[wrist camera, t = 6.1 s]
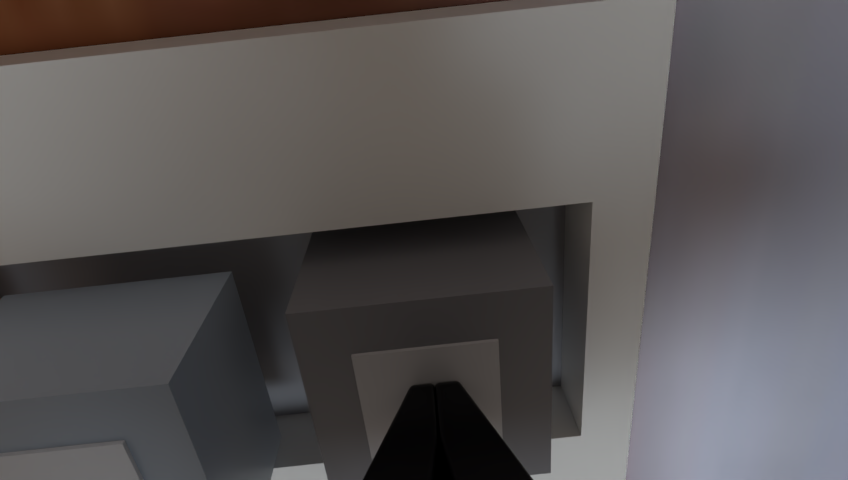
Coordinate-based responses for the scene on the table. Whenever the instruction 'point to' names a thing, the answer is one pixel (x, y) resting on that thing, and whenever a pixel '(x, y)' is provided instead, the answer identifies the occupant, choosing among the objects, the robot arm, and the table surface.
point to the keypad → (356, 173)
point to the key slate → (133, 384)
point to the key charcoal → (423, 331)
